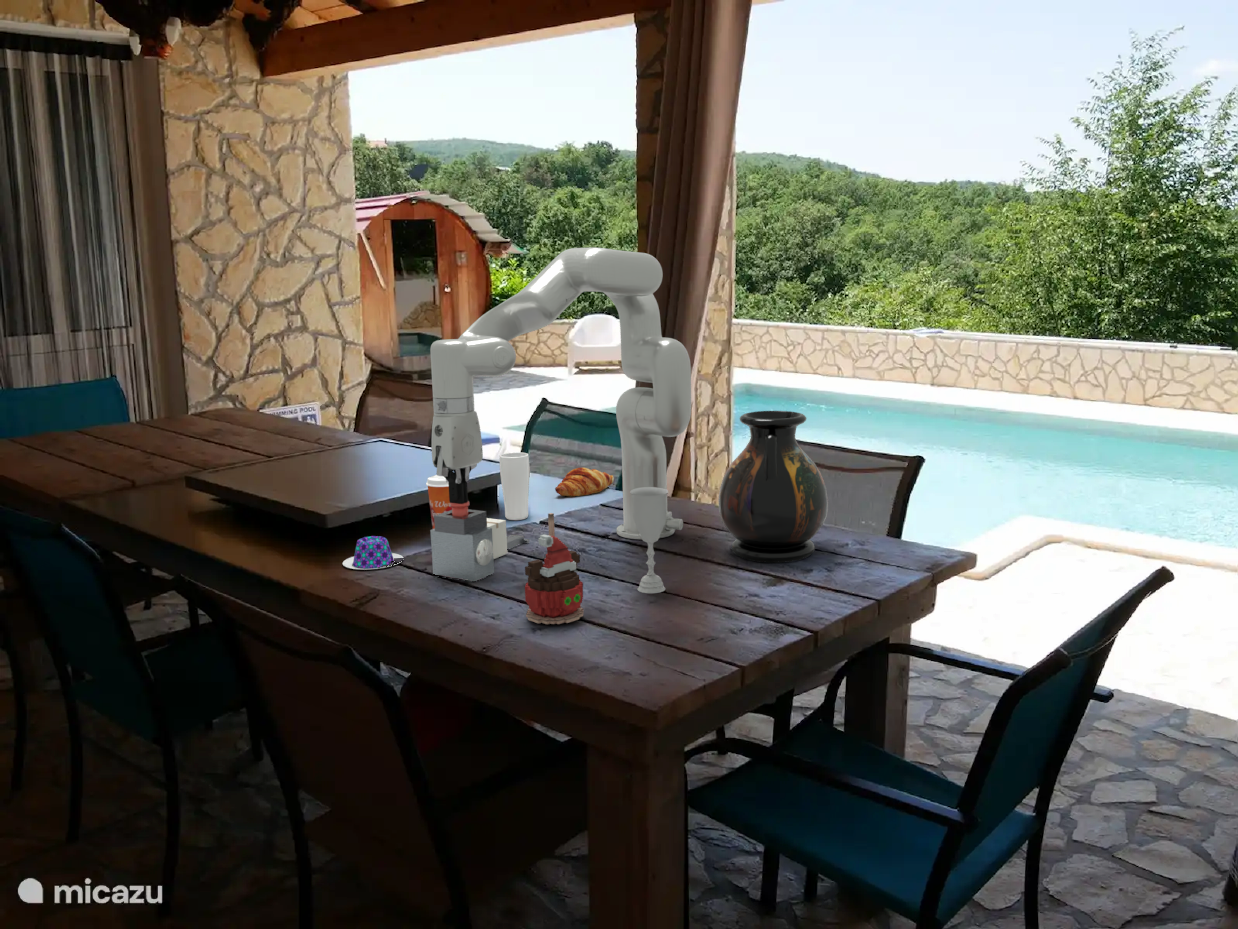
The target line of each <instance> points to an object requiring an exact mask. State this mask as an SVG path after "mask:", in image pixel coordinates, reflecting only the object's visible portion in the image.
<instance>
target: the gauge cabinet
mask: <svg viewBox="0 0 1238 929" xmlns="http://www.w3.org/2000/svg"><path fill="white" fill-rule="evenodd" d="M487 518H488V517H487V510H478V509H469V508H468V515H466V516H463V517H458V516H452V510H450V511H447V512H444V513H441V514H438V515H435V516H434V524H435V529H433V528H432V529H430V530H429V531H430V544H431V546H430V547H431V558H432V559H431V561H432V563H431V564H432V575H433V574H435V575H444V576H445V575H446V576H450V577H455V578H463V579H468V580H472V581H476V582H478V581H477V580H478V579H480V578H483V579H485V578H487V577H486V576H488V575H490V576H492V575H493V574H492V573H494V574H495V563H494V561H495V559H493V540H492V528H488V527H487ZM491 574H492V575H491ZM484 577H485V578H484ZM488 577H489V576H488ZM472 581H471V582H472Z"/></svg>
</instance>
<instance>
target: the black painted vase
mask: <svg viewBox="0 0 1238 929" xmlns="http://www.w3.org/2000/svg"><path fill="white" fill-rule="evenodd" d="M739 421H740V422H741V423H742V424H743V425H746V426H748V427H749V432H750V439H749V441H748V442H747V445H746V446H745V447H744V448H743V450H742V451H741V452H740V453H739V454H738V456H737V457H736V458H735V459H734V460H733V461H732V462H731V464H730V465H729V466H728V468H727V469H726V471H725V473H724V476H723V478H722V481H721V483H720V487H719V494H718V511H719V512H718V513H719V517H720V519H721V521H722V524H723V525H724V527H725V529H726V530H727V531H728V532H729V534H730V535H731V536H733V538H734V540H733V542H732V543H731V545H730V546H731V550H732V552H733V553H734V555H736V556H737V557H740V558H742V559H744V560H748V561H752V562H758V563H767V564H769V563H771V564H772V563H773V564H779V563H792V562H798V561H800V560H804V559H806V558H808V557H809V556H811V555H813V553H814V551H815V550H816V547H815V545H814V542H813V541H812V540H811V539H813V537H815V535H817V533H819V531H820V529H821V528H822V527H823V525H824V523H825V521H826V518H827V516H828V513H829V497H828V492H827V486H826V483H825V479H824V478H823V475H822V473H821V471H820V469H819V468H818V467H817V466H818V465H817V464H816V463H815V461H813V460H812V458H811V457H809V455H808V454H807V453H806V452H805V451H804V450H803V449H802V448H801V446H800V444H798V442H797V439H796V432H797V427H798V426H799V425H802V424H804V423H805V422H806V421H807V416H806V415H805V414H804V413H801V412H797V411H791V410H759V411H751V412H746V413H743V414H742V415H741V416H740V417H739Z"/></svg>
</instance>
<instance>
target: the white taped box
mask: <svg viewBox="0 0 1238 929" xmlns="http://www.w3.org/2000/svg"><path fill="white" fill-rule="evenodd" d="M487 527H488V528H492V540H493V560H495V559H498V558H499V557H502V556H505V555H508V550H507V535H508V534H507V519H500V518H499V519H496V518H491V517H489V518H488V517H487Z"/></svg>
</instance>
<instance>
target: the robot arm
mask: <svg viewBox="0 0 1238 929" xmlns="http://www.w3.org/2000/svg"><path fill="white" fill-rule="evenodd" d="M663 274H664V273H663V267H662V265H661V263H660V262H659V261H658V259H657V258H656V257H654V256H653V255H652V254H649V253H645V252H637V251H628V250H619V249H611V248H603V247H595V246H593V247H573V248H568V249H565V250H563V251H562V252H560V253H559V254H558V255H557V256H555V257H554V259H552V260H551V261H550V262H549V263H548V264H546V266H545V267H544V268H543V269H542V270H541V271H540V272H539V273H537V275H536V276H535V277H534V278H533V279H532V280H531V281H530V282H529V283H527V285H525V287H524V288H522V290H520V291H519V292H518V293H515V294H514V295H512V296H511V297H509V298H507V299H505V300H504V301H503V302H501V303H499V304H498V305H496V306H494V307H493V308H491V309H489V310H488V311H486V312H485V313H484V314H482V315H481V316H480V317H479V318H477V319H476V320H475V321H474V322H473V323H471V325H470V326H469V327H468V328H467V329H466V330H465V331H464V332H463V333H462V334H461V335H460V336H459V337H458V338H454V339H453V338H451V339H440V340H439V339H437V340H435V341H433V342H432V344H431V345H430V364H431V365H430V366H431V370H430V371H431V384H432V401H433V402H432V405H433V407H432V408H433V417H432V425H431V459H432V465H433V467H434V468H436V474H435V475H437V476H444V477H445V478H446V482H447V483H449V501H450V503H458V504H464V503H467V502H468V501H469V496H468V494H469V493H468V492H469V491H468V481H469V480H470V473H471V471H472V470H473V469H476V467H477V466H478V464H479V463H481V462H482V460H483V456H484V455H483V453H484V452H483V441H482V440H483V439H482V432H481V426H480V421H479V416H478V413H477V411H476V410H475V396H474V394H475V393H474V377H489V378H496V377H497V378H498V377H502V376H504V375H506V374H507V373H509V372H510V371H512V369H513V368H514V366H515V364H516V361H517V360H516V359H517V354H516V351H515V348H514V347H513V345H512V344H511V343H510V342H509V341H512V340H513V339H516V338H517V337H519V336H522V335H524V334H528V333H532V332H536V331H539V330H541V329H542V328H545V327H547V326H550V325H551V324H552V323H554V321H555V320H557V318H558V317H559V316H560V315H561V314H562V313H563V312H564V311H565V310H566V309H567V308H568V307H569V306H570V305H571V304H572V303H573V302H574V301H575V300H576V299H577V298H578V297H579V296H580V295H581V294H582V293H585V292H595V293H596V292H598V293H603V294H604V295H606V296H607V297H608V298H609V299H610V300H611V301H612V303H613V305H614V306H615V308H616V310H617V313H618V317H619V329H620V330H619V332H620V356H621V357H620V358H621V359H620V360H621V361H620V362H621V368H622V372H623V373H624V375H625V376H626V377H627V378H628V379H630V380H632V381H633V380H634V381H636V382H643V383H651V384H652V387H643V386H641V387H639V386H637V387H632V388H629V389H627V390H626V391H624V392H623V393H622V394H621V395H620V396H619V398H618V400H617V403H616V407H615V414H616V415H615V416H616V422H617V427H618V432H619V436H620V446H621V471H622V472H621V475H622V476H621V477H622V478H621V479H622V509H623V510H622V512H623V514H622V515H623V516H622V517H623V524H622V523H621V524H620V525H618V526H617V527H616V534H617V535H618V536H620V537H622V538H625V539H631V540H642V538H641V536H640V533H639V531H638V529H637V527H636V524H635V521H634V518H633V497H632V495H631V493H630V491H631V490H633V489H637V488H643V487H657V488H663V489H667V488H668V485H667V478H668V477H667V450H666V445H665V441H664V438H663V437H666V438H671V437H672V438H673V437H678V436H680V435H681V434H683V433H684V432H685V431H686V429H687V428H688V426H689V425H690V424H689V423H690V420H691V416H692V415H691V414H692V369H691V359H690V356H689V353H688V350H687V348H686V346H684V344H683V343H682V342H680V341H678V340H677V339H675V338H672V337H663V335H662V327H661V325H662V324H661V314H660V309H659V303H658V302H657V299H656V297H655V295H654V293H655V292H656V291H658V289H659V288H660V286H661V284H662V282H663ZM667 490H668V489H667ZM672 513H673V511H668V495H667V496H666V521H665V524H664V527H663V530H662V532H661V534H660V536H659V539H663V538H667V537H670V536H672V535H674V534H675V533H676V532H675V531H676V530H679V531H681V530H683V527H684V520H683V519H682V518H674V517H673V514H672Z"/></svg>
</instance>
